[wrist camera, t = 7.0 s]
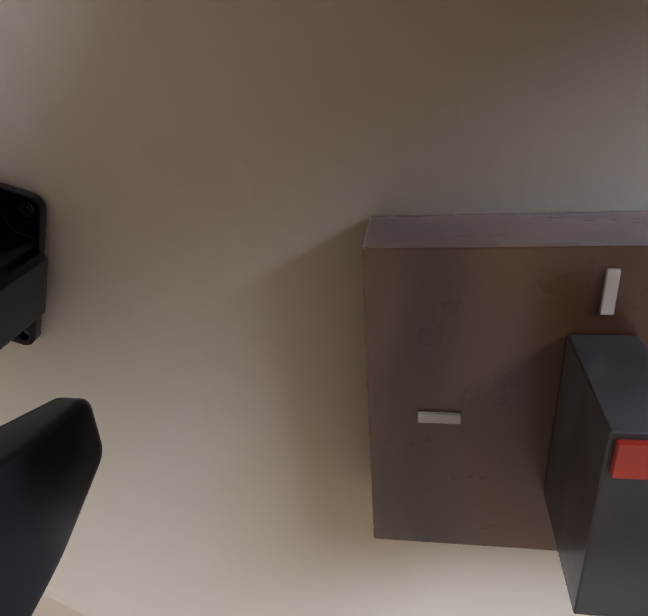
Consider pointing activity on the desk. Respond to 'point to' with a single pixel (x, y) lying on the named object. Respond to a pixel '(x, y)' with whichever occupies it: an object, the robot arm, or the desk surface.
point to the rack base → (484, 360)
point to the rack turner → (602, 475)
